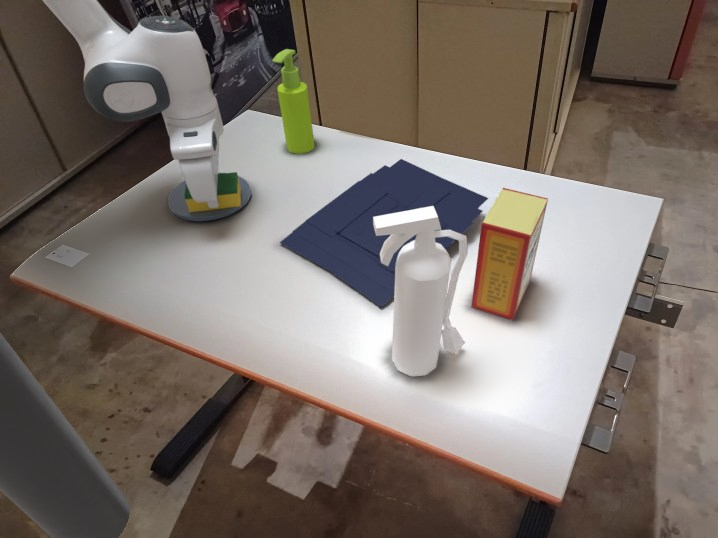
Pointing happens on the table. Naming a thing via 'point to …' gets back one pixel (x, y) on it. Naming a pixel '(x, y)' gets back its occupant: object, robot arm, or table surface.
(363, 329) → the table surface
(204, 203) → the sponge
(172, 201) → the plate
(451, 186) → the folded navy cloth
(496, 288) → the baking soda box
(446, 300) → the fire extinguisher
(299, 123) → the soap dispenser
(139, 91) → the robot arm
